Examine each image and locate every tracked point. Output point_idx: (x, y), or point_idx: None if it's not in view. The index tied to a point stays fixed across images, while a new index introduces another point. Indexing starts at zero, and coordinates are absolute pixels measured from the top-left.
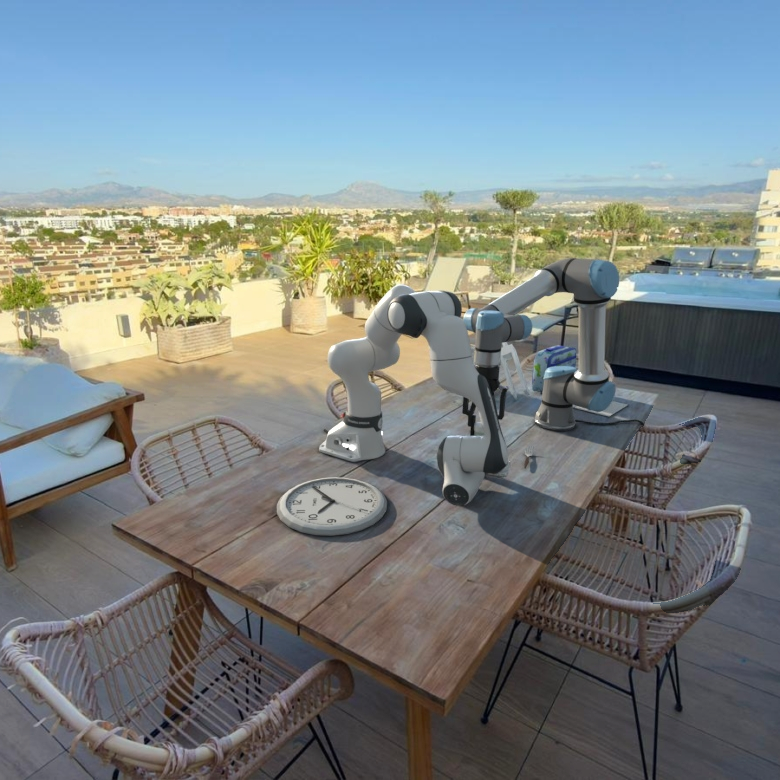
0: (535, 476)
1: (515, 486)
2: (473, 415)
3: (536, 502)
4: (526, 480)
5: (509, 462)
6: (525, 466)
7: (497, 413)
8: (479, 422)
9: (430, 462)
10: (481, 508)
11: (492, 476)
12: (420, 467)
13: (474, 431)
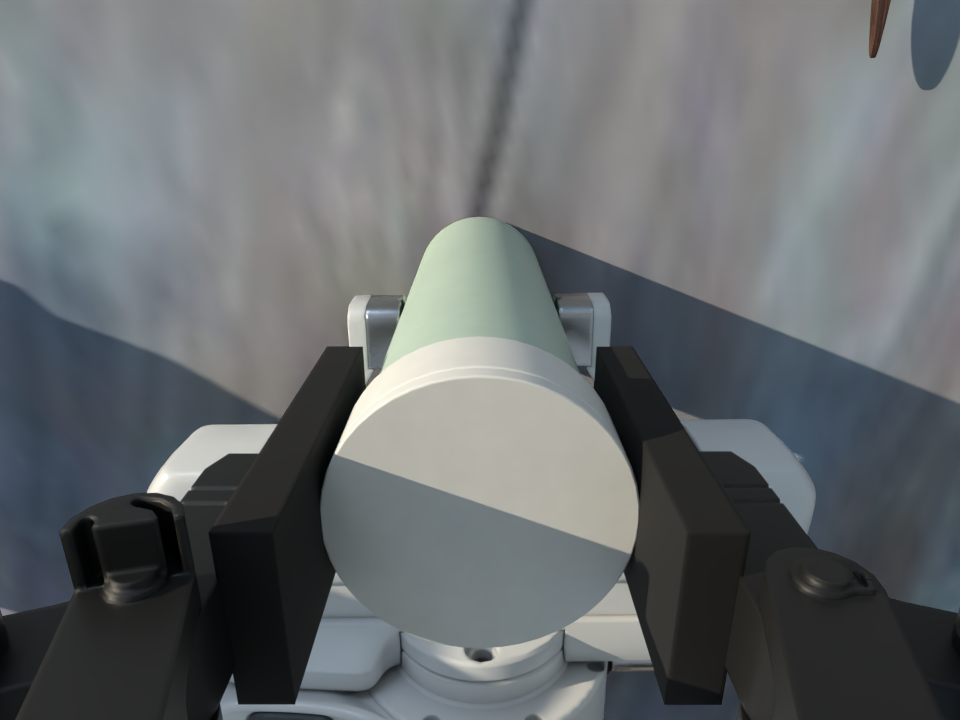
0: (948, 145)
1: (778, 384)
2: (219, 558)
3: (911, 532)
4: (865, 254)
5: (809, 525)
6: (882, 20)
7: (912, 662)
8: (399, 450)
9: (53, 257)
10: None
11: None
12: (38, 376)
13: None
